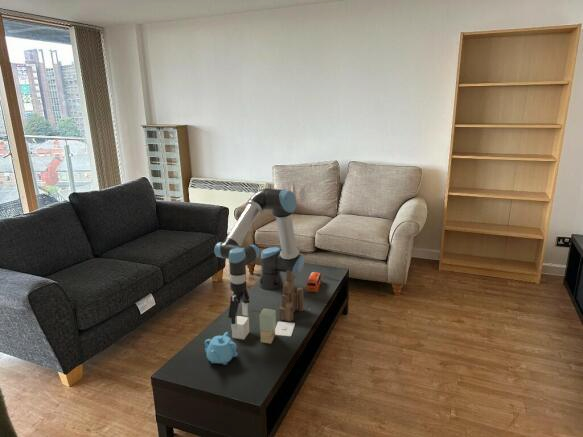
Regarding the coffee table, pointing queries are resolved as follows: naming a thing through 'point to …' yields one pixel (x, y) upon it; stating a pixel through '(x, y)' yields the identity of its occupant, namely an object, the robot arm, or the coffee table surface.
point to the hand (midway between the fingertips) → (240, 322)
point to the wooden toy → (290, 298)
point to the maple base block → (267, 336)
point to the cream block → (241, 328)
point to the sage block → (267, 319)
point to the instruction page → (284, 328)
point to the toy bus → (313, 282)
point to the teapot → (220, 349)
